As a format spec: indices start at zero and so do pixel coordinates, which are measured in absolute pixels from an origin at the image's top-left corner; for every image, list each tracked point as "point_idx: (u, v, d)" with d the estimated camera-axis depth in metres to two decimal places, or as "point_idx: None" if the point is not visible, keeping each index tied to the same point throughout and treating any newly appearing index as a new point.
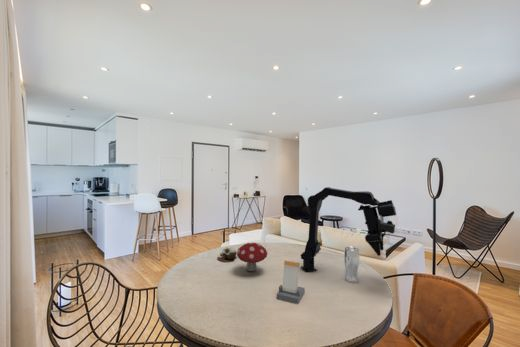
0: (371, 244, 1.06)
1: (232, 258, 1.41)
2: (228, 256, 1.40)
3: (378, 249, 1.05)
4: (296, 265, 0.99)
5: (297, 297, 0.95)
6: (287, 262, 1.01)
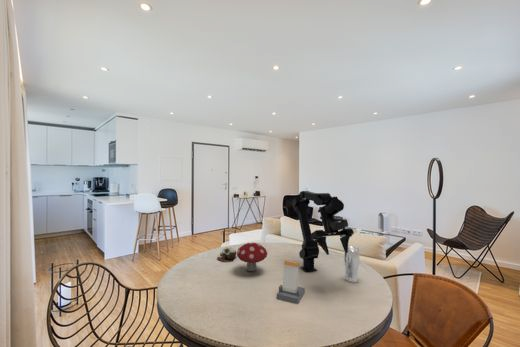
0: (319, 243, 1.05)
1: (232, 258, 1.41)
2: (228, 256, 1.40)
3: (324, 247, 1.03)
4: (296, 265, 0.99)
5: (297, 297, 0.95)
6: (287, 262, 1.01)
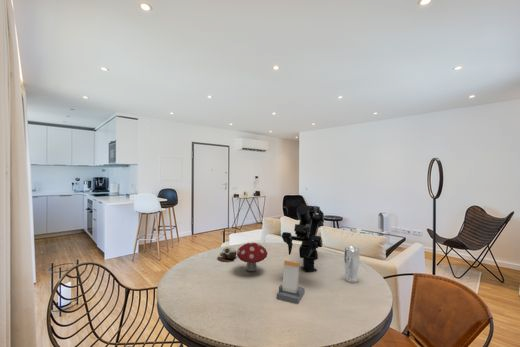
0: None
1: (232, 258, 1.41)
2: (228, 256, 1.40)
3: (288, 248, 1.13)
4: (296, 265, 0.99)
5: (297, 297, 0.95)
6: (287, 262, 1.01)
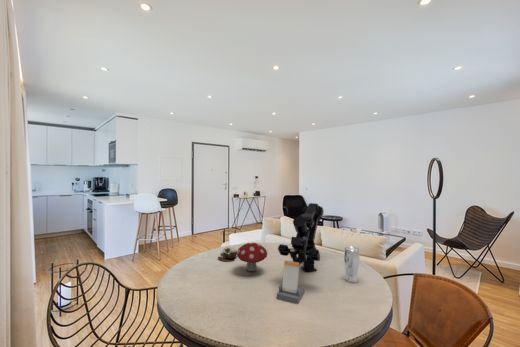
0: None
1: (232, 258, 1.41)
2: (228, 256, 1.41)
3: None
4: (296, 265, 0.99)
5: (297, 297, 0.95)
6: (287, 262, 1.01)
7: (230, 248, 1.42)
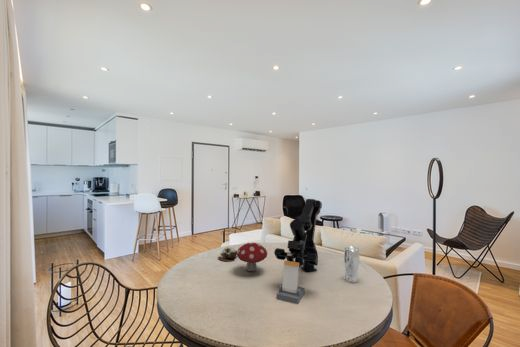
0: None
1: (233, 258, 1.42)
2: (229, 256, 1.41)
3: None
4: (296, 265, 0.99)
5: (297, 297, 0.95)
6: (287, 262, 1.01)
7: (230, 248, 1.42)
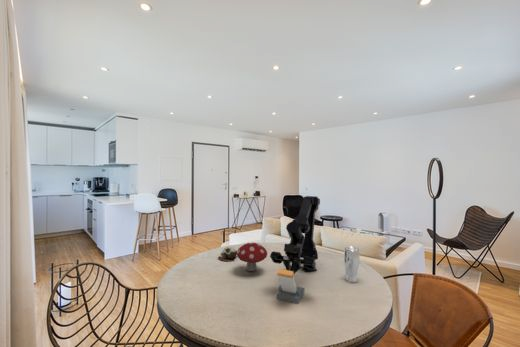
0: None
1: (233, 257, 1.42)
2: (229, 255, 1.41)
3: None
4: (290, 277, 0.92)
5: (297, 297, 0.95)
6: (280, 274, 0.94)
7: (230, 248, 1.42)
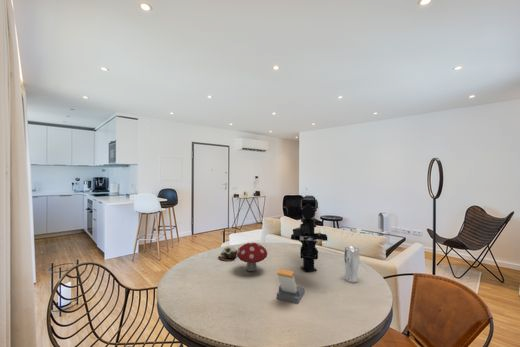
0: None
1: (233, 257, 1.42)
2: (229, 255, 1.41)
3: None
4: (290, 277, 0.92)
5: (297, 297, 0.95)
6: (280, 274, 0.94)
7: (230, 248, 1.42)
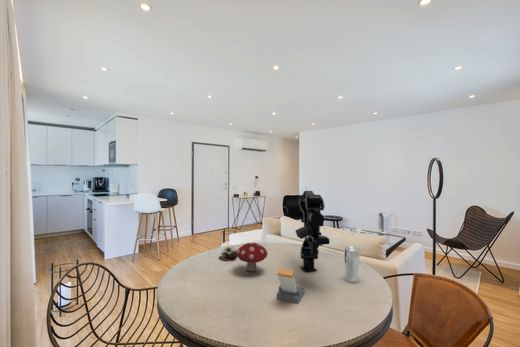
0: None
1: (233, 257, 1.42)
2: (229, 255, 1.42)
3: None
4: (290, 277, 0.92)
5: (297, 297, 0.95)
6: (280, 274, 0.94)
7: (231, 248, 1.43)
